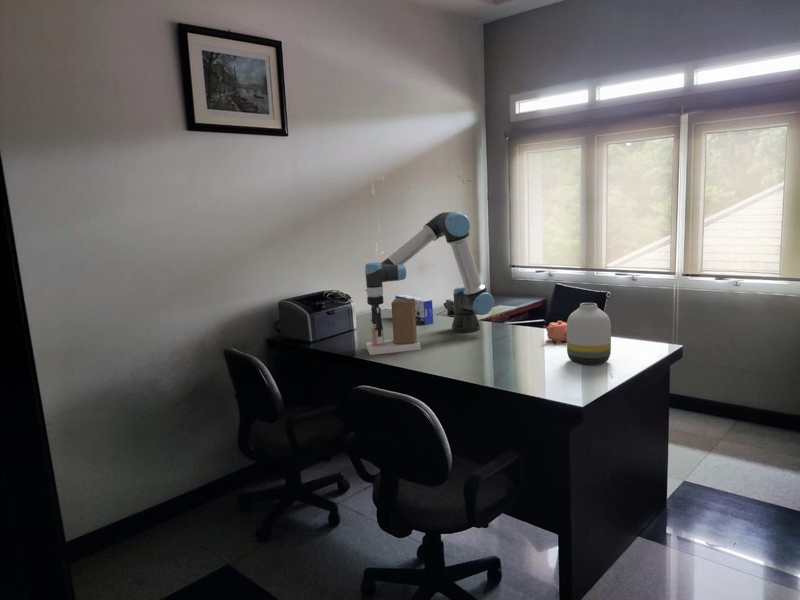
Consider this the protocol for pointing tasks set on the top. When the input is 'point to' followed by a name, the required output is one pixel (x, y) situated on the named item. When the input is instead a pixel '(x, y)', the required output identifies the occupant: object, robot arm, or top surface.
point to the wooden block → (404, 321)
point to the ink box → (421, 309)
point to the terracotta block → (375, 337)
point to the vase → (588, 335)
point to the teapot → (557, 331)
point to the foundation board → (391, 347)
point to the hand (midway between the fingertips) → (378, 340)
